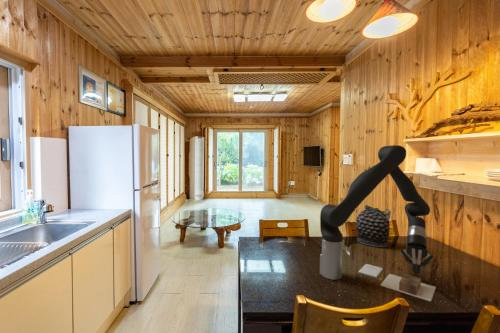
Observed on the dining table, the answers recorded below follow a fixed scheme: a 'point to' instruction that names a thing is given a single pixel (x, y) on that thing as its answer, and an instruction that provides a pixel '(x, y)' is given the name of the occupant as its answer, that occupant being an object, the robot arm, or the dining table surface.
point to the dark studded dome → (373, 227)
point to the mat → (393, 283)
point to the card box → (410, 284)
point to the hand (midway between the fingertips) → (416, 273)
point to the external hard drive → (370, 270)
